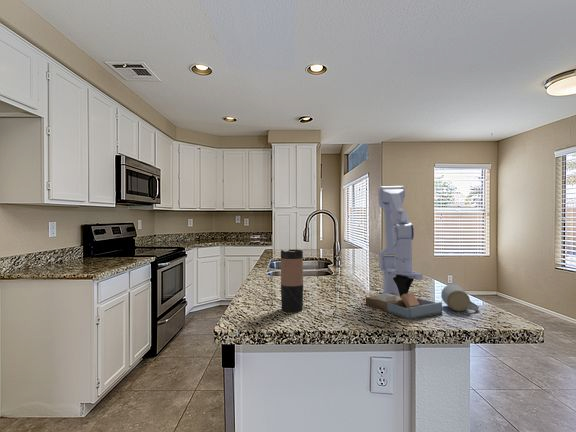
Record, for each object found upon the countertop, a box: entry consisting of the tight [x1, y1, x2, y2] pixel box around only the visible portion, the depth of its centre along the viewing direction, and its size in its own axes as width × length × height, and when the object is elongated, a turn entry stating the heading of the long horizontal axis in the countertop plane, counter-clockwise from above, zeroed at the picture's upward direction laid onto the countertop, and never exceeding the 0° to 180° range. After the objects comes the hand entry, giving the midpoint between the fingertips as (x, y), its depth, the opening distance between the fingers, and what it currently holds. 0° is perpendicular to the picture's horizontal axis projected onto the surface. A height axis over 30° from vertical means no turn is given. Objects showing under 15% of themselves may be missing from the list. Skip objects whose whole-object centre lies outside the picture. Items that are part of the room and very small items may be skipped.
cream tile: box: [376, 293, 396, 302], centre depth 113 cm, size 4×4×2 cm
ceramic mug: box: [440, 284, 480, 312], centre depth 110 cm, size 11×8×8 cm
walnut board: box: [365, 293, 406, 312], centre depth 115 cm, size 13×11×2 cm
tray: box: [386, 297, 443, 320], centre depth 106 cm, size 14×9×4 cm, turn 117°
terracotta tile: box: [401, 292, 420, 308], centre depth 111 cm, size 4×4×2 cm
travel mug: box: [280, 249, 304, 313], centre depth 111 cm, size 8×8×20 cm
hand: (403, 297), depth 113 cm, fingers closed, pressing on terracotta tile
